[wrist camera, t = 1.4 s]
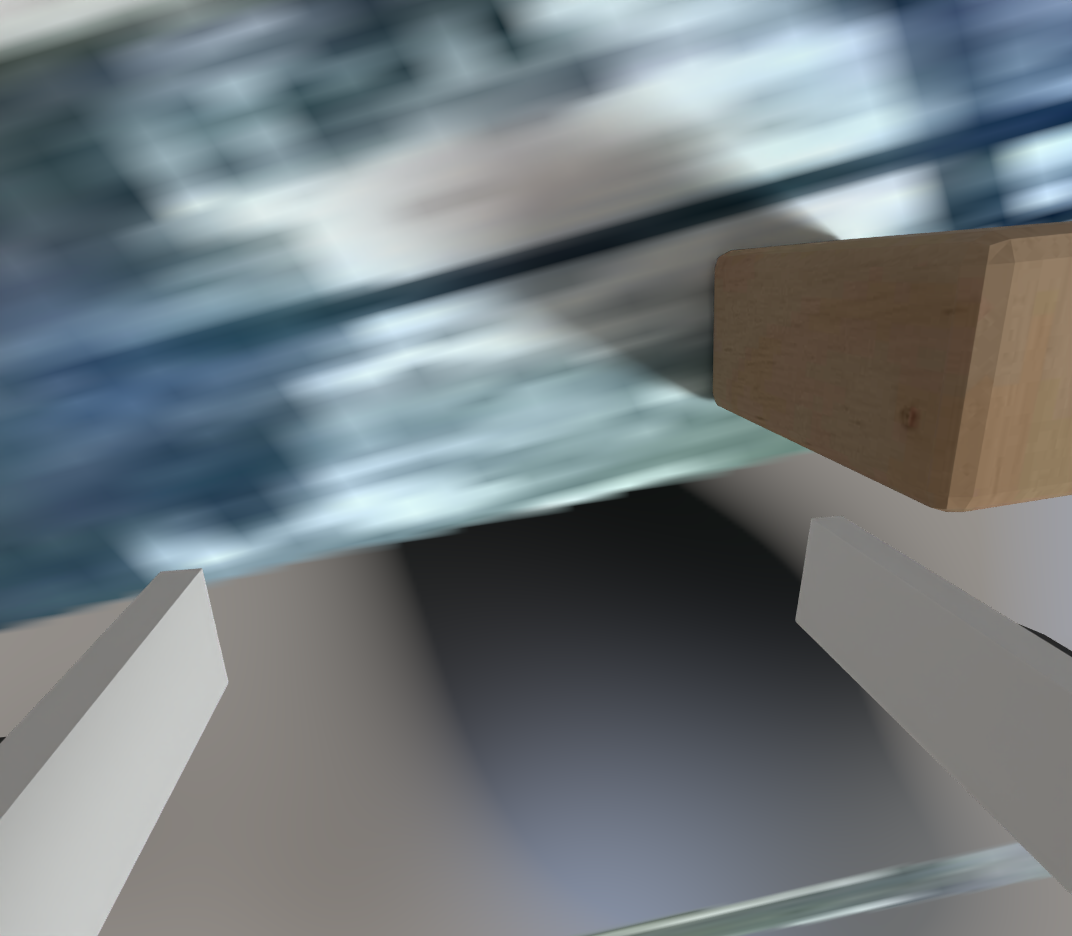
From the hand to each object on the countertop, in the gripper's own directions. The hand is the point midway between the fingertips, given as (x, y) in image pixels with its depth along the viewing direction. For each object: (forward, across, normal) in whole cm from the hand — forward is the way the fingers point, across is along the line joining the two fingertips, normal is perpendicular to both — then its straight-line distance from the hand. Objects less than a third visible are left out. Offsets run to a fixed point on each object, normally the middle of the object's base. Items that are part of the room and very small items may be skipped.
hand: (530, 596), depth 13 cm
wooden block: (+26, +21, +3) cm, 33 cm away
